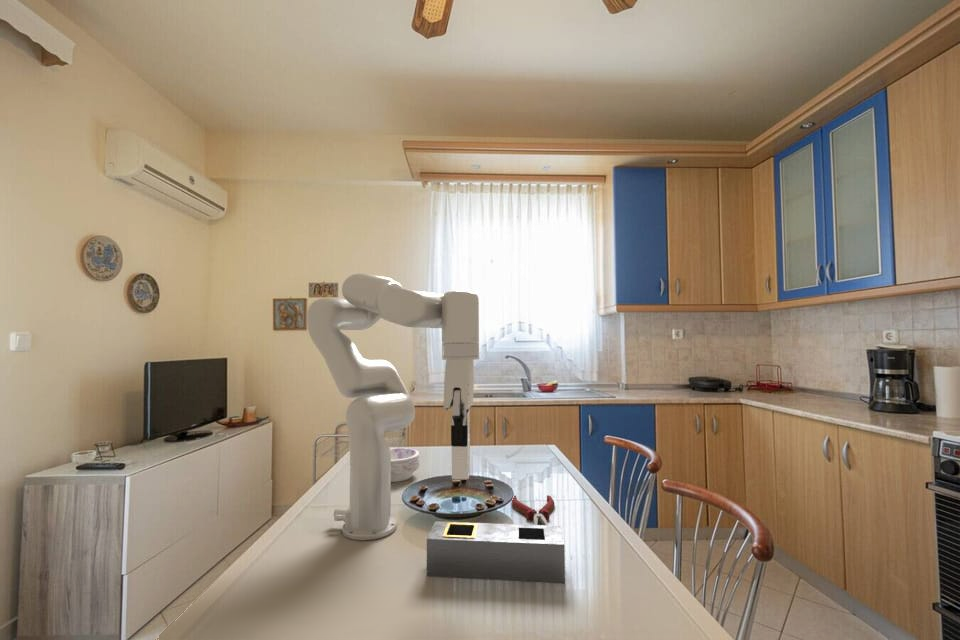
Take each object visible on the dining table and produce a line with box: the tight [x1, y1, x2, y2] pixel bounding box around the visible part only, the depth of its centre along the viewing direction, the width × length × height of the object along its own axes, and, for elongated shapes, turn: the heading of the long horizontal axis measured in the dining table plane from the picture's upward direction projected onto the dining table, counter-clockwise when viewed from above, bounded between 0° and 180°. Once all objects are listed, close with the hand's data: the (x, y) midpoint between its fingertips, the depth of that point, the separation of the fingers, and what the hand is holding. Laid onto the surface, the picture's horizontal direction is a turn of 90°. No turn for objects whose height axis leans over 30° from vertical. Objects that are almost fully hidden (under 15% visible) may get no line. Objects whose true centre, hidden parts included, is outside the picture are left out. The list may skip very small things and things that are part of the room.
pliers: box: [511, 494, 555, 526], centre depth 110 cm, size 12×20×3 cm, turn 1°
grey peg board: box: [426, 520, 566, 584], centre depth 85 cm, size 26×8×7 cm, turn 84°
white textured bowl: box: [390, 447, 421, 483], centre depth 141 cm, size 15×15×8 cm
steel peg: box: [451, 409, 471, 480], centre depth 87 cm, size 3×3×13 cm
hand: (460, 442), depth 87 cm, fingers closed on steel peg, 3 cm apart
